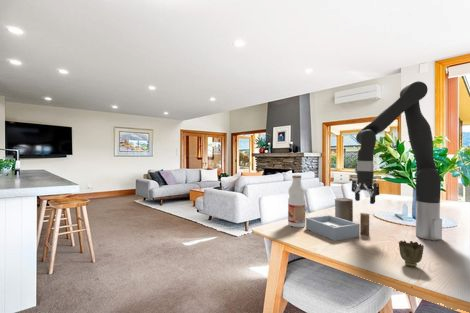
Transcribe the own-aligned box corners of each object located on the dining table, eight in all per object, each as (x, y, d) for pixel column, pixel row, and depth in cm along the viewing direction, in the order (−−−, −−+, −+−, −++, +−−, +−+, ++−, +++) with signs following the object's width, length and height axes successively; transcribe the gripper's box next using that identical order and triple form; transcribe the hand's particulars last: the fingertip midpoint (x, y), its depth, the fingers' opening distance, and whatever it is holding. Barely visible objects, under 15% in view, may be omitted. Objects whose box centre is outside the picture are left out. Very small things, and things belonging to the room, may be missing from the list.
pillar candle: (356, 223, 149) (356, 197, 149) (346, 225, 143) (346, 198, 143) (341, 219, 157) (341, 195, 157) (331, 222, 151) (331, 196, 151)
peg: (371, 234, 128) (371, 214, 128) (365, 235, 126) (365, 215, 126) (364, 232, 132) (364, 212, 131) (358, 233, 130) (358, 213, 130)
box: (359, 236, 125) (359, 224, 125) (334, 240, 118) (334, 227, 118) (329, 225, 143) (329, 215, 143) (306, 229, 137) (306, 218, 136)
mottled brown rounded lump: (401, 268, 90) (401, 245, 90) (396, 260, 97) (396, 239, 97) (426, 271, 87) (426, 248, 87) (419, 263, 94) (420, 241, 94)
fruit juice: (303, 228, 138) (303, 176, 137) (286, 226, 142) (286, 175, 142) (306, 224, 146) (307, 175, 146) (290, 222, 150) (290, 174, 150)
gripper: (383, 170, 124) (382, 204, 124) (358, 168, 137) (358, 199, 137) (372, 171, 121) (371, 205, 121) (348, 169, 134) (347, 200, 134)
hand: (364, 202), depth 129 cm, fingers open, 8 cm apart
